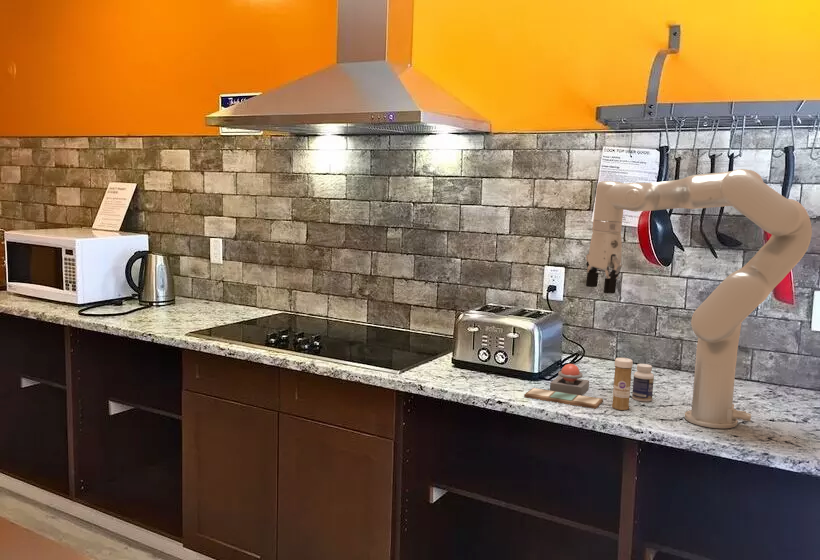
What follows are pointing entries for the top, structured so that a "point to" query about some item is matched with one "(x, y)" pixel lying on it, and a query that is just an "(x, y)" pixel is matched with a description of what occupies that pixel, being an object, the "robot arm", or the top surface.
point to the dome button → (570, 373)
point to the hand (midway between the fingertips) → (600, 289)
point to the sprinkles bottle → (622, 383)
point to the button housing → (569, 386)
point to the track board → (564, 398)
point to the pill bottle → (643, 383)
